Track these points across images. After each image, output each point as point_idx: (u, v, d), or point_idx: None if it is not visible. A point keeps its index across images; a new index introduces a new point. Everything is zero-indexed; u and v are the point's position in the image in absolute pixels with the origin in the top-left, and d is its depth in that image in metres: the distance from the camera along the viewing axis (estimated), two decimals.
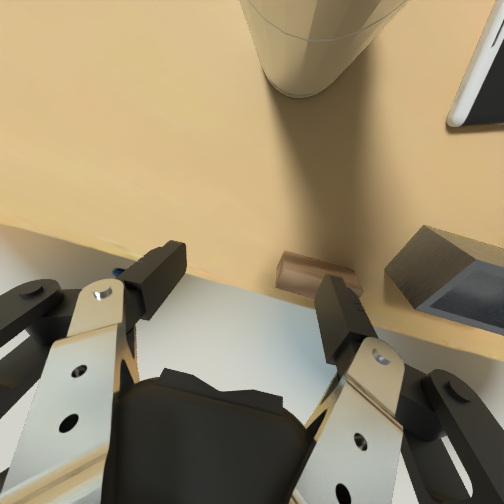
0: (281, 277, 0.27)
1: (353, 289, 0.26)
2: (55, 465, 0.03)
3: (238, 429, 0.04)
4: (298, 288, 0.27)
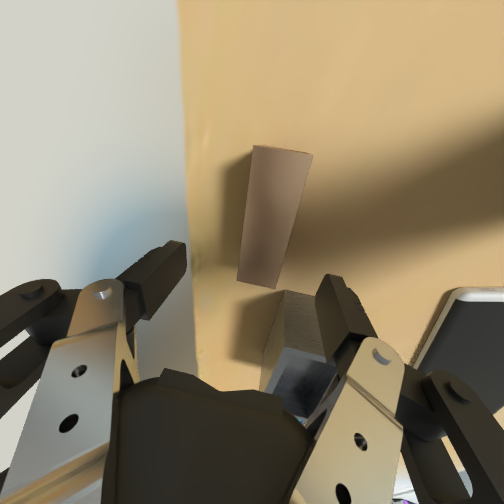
0: (286, 154, 0.12)
1: (276, 277, 0.17)
2: (55, 465, 0.03)
3: (238, 429, 0.04)
4: (261, 197, 0.14)
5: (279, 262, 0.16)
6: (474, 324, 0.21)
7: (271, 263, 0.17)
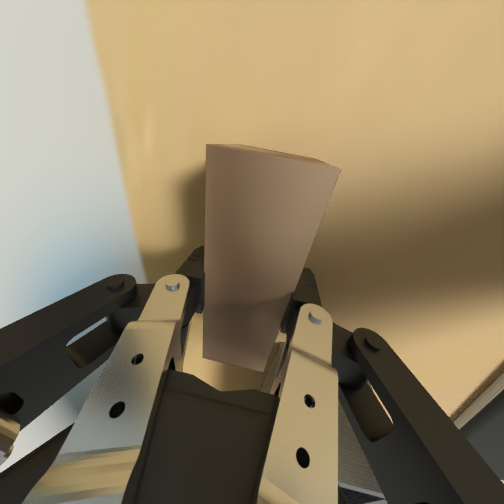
0: (280, 165, 0.05)
1: (264, 358, 0.11)
2: (97, 450, 0.03)
3: (238, 429, 0.04)
4: (232, 246, 0.07)
5: (268, 341, 0.10)
6: None
7: (255, 342, 0.10)
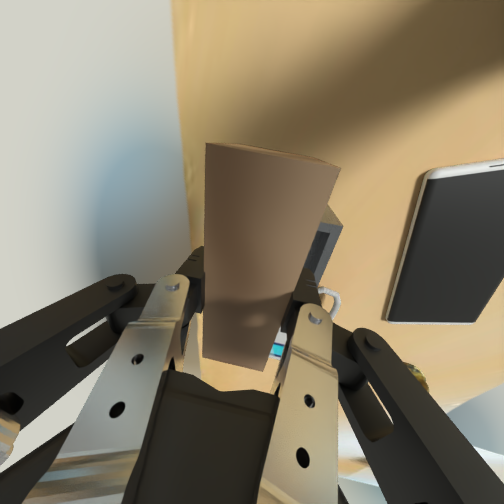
0: (280, 164, 0.05)
1: (264, 358, 0.11)
2: (97, 450, 0.03)
3: (238, 429, 0.04)
4: (232, 245, 0.07)
5: (268, 341, 0.10)
6: (446, 206, 0.22)
7: (255, 341, 0.10)
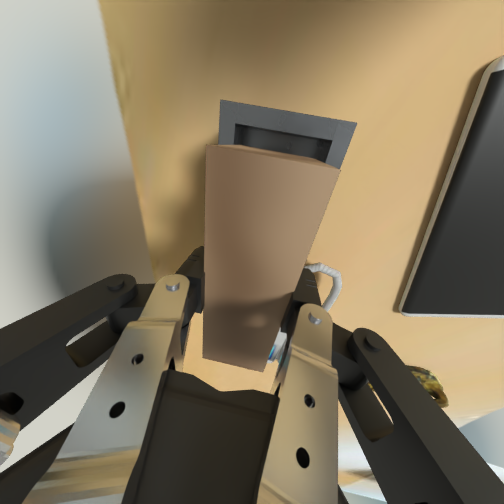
0: (280, 166, 0.05)
1: (264, 359, 0.11)
2: (97, 450, 0.03)
3: (238, 429, 0.04)
4: (232, 246, 0.07)
5: (268, 342, 0.10)
6: None
7: (255, 342, 0.10)
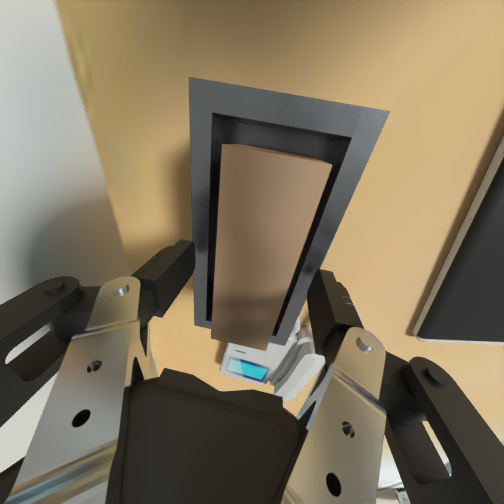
0: (283, 161, 0.06)
1: (267, 337, 0.12)
2: (66, 460, 0.03)
3: (238, 429, 0.04)
4: (241, 231, 0.08)
5: (271, 320, 0.11)
6: None
7: (259, 321, 0.11)
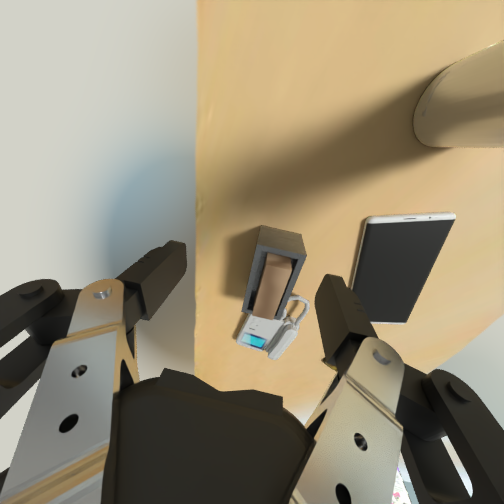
0: (280, 268, 0.28)
1: (273, 314, 0.33)
2: (55, 465, 0.03)
3: (238, 429, 0.04)
4: (268, 282, 0.29)
5: (275, 308, 0.32)
6: (379, 241, 0.32)
7: (271, 308, 0.32)
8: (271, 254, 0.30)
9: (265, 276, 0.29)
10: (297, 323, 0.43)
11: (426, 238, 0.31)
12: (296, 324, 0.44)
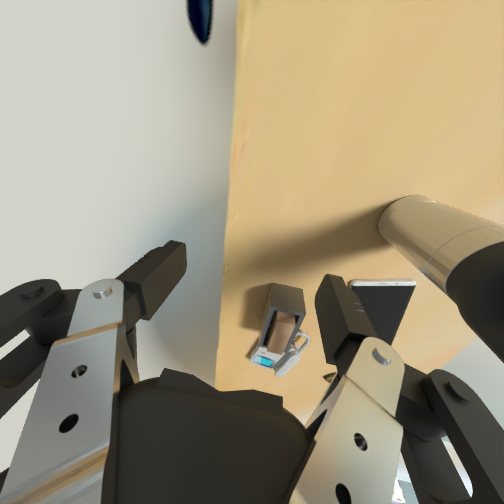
0: (287, 324, 0.39)
1: (282, 351, 0.44)
2: (55, 465, 0.03)
3: (238, 429, 0.04)
4: (278, 331, 0.41)
5: (284, 347, 0.43)
6: (361, 297, 0.43)
7: (281, 347, 0.44)
8: None
9: (276, 328, 0.40)
10: (300, 351, 0.55)
11: (396, 296, 0.42)
12: (299, 352, 0.55)
